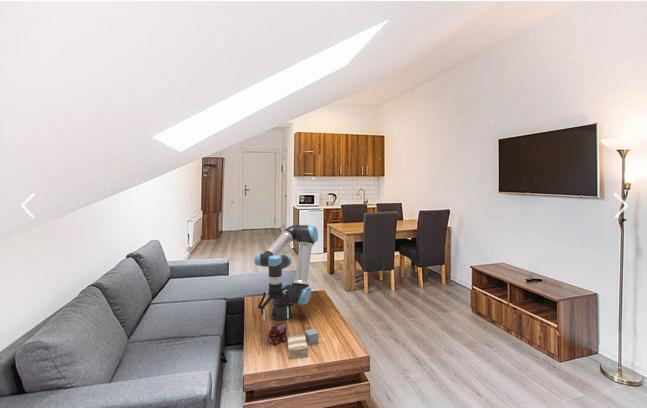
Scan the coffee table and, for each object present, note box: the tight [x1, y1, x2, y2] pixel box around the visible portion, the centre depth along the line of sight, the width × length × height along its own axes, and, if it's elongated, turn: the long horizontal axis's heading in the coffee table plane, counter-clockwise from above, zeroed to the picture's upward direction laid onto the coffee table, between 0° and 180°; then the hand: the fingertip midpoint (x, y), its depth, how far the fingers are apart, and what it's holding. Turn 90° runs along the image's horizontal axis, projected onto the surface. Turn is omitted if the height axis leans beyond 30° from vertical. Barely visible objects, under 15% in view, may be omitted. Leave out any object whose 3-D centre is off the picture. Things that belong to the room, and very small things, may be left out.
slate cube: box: [304, 328, 320, 346], centre depth 178 cm, size 6×6×6 cm
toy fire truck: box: [266, 321, 288, 346], centre depth 178 cm, size 7×12×10 cm, turn 127°
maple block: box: [286, 333, 309, 359], centre depth 169 cm, size 15×10×5 cm, turn 9°
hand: (276, 318), depth 177 cm, fingers open, 13 cm apart
